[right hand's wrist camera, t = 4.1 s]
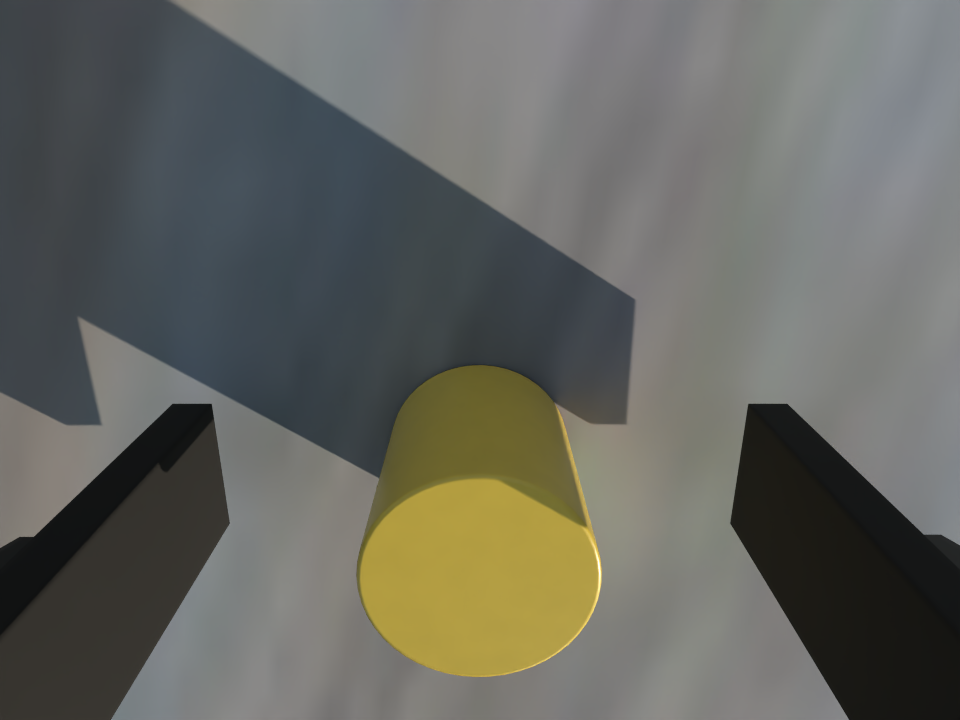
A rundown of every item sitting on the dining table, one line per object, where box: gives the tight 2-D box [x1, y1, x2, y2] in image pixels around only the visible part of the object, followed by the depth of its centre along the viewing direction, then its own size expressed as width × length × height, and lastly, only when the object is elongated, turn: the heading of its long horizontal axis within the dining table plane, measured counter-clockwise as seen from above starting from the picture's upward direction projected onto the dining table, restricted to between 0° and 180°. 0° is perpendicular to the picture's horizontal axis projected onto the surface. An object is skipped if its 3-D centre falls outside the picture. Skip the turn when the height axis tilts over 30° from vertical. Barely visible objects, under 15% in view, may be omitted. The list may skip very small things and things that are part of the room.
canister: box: [356, 365, 602, 677], centre depth 12 cm, size 4×4×4 cm
